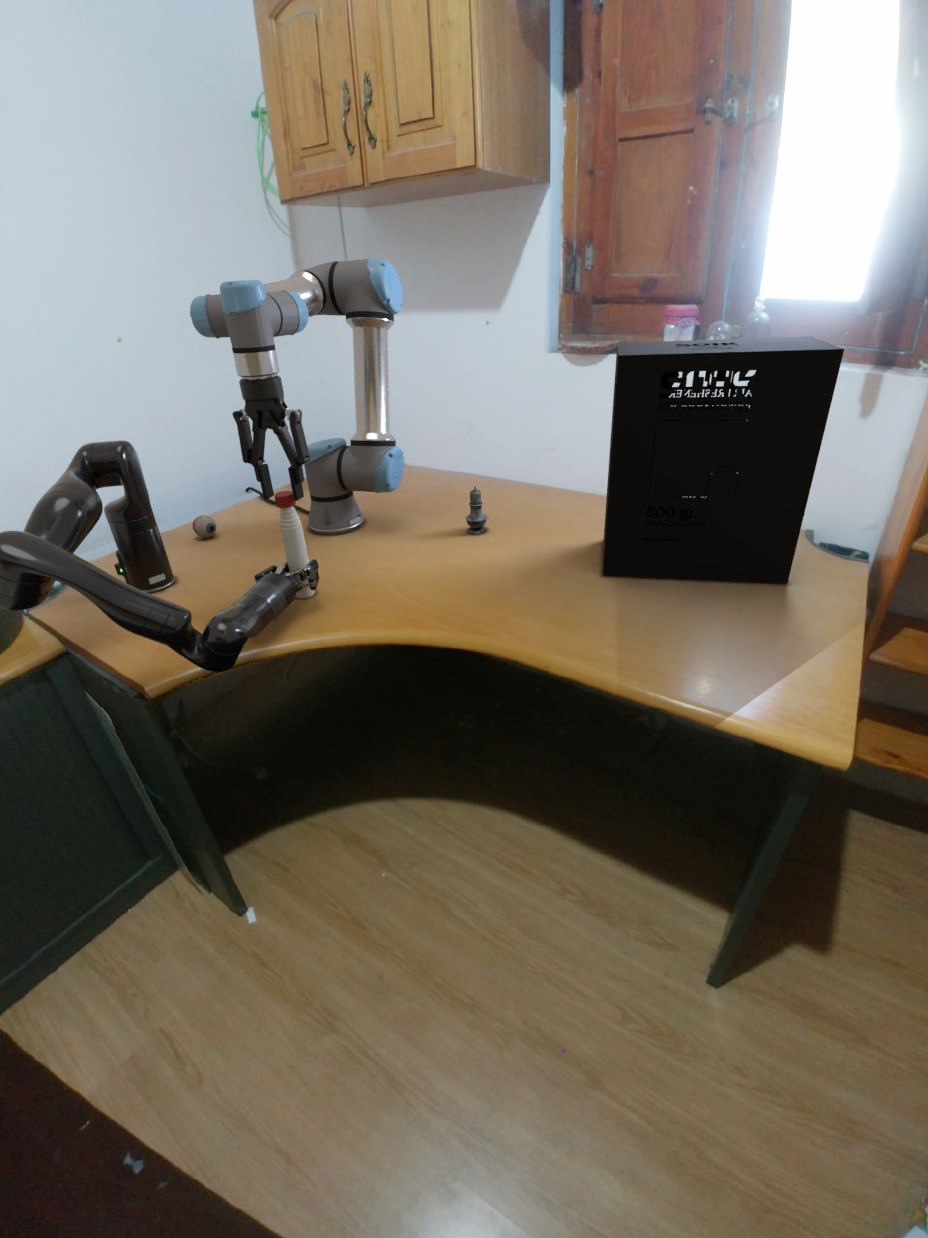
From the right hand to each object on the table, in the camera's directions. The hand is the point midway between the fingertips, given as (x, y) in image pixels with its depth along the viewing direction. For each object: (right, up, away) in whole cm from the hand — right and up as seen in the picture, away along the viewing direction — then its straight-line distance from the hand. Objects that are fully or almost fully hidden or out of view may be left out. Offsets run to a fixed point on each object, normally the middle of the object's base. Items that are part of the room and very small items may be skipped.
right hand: (284, 497), depth 122 cm
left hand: (+2, -12, +10) cm, 16 cm away
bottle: (+1, -19, +11) cm, 22 cm away
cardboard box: (+88, -11, +16) cm, 90 cm away
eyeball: (-34, -2, +44) cm, 56 cm away
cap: (0, +1, 0) cm, 0 cm away
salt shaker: (+40, -1, +38) cm, 55 cm away
